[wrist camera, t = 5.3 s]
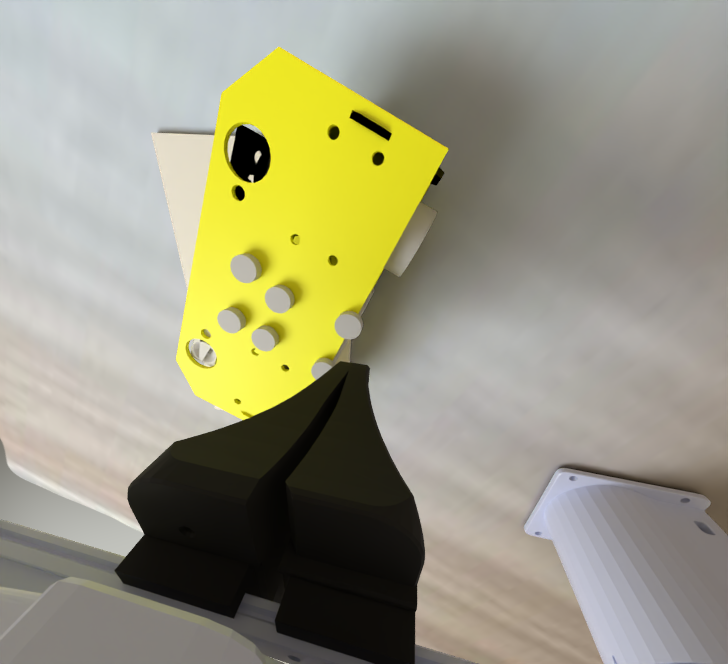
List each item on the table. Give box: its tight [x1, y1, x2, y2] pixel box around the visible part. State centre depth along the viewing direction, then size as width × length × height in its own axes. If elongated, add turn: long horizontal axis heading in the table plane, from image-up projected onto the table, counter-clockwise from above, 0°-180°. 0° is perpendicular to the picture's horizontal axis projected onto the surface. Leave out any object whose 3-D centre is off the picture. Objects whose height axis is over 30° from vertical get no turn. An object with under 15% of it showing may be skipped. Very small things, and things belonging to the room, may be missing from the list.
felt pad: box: [151, 133, 351, 411], centre depth 18 cm, size 12×20×1 cm, turn 176°
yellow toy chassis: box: [176, 47, 449, 420], centre depth 14 cm, size 16×6×8 cm
